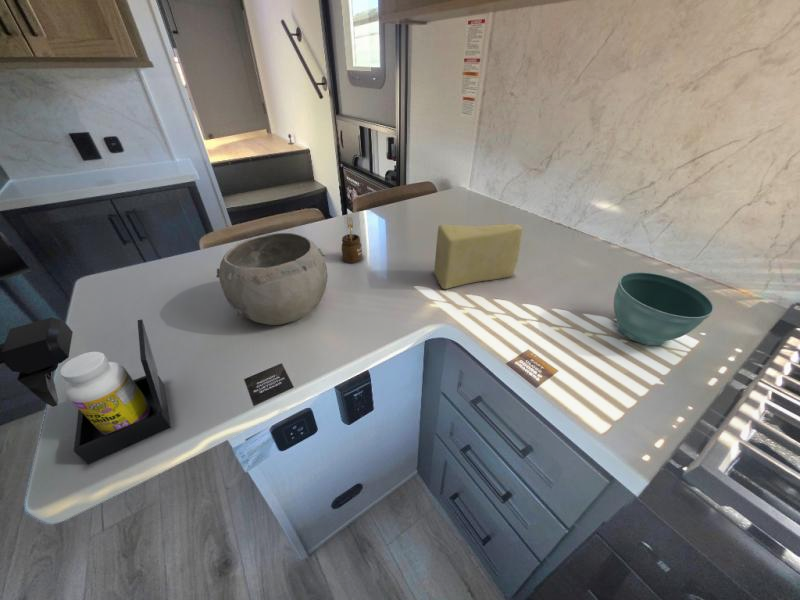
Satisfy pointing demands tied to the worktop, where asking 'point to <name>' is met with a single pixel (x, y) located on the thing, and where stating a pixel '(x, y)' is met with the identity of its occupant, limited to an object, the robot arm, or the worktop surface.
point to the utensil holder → (351, 246)
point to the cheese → (476, 253)
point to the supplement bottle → (104, 392)
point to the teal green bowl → (658, 307)
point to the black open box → (98, 446)
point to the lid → (149, 366)
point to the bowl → (274, 278)
